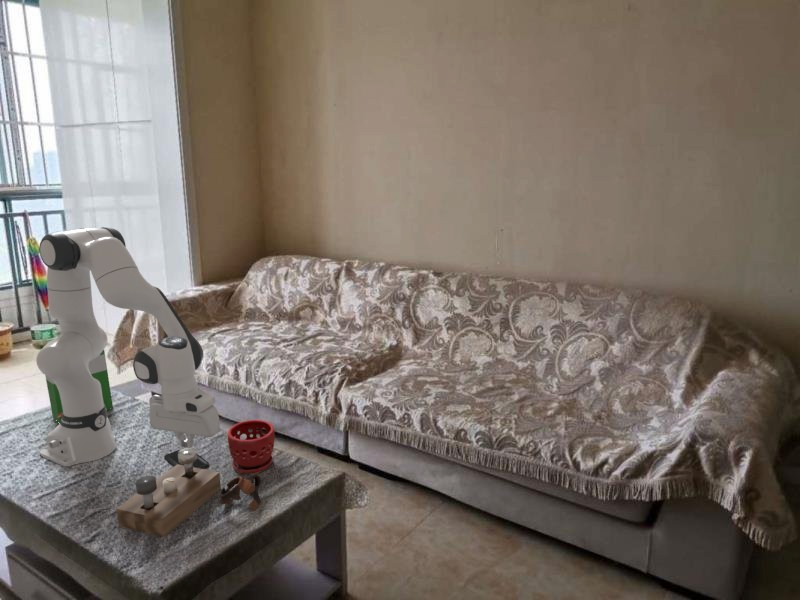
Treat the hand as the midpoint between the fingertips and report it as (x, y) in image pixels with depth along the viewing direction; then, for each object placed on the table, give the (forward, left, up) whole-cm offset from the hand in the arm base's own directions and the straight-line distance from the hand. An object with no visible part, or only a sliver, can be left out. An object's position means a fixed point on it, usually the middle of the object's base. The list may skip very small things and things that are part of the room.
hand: (187, 446), depth 154 cm
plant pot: (+9, +16, -14) cm, 23 cm away
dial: (0, -8, -8) cm, 11 cm away
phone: (-12, +12, -14) cm, 22 cm away
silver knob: (0, 0, -8) cm, 8 cm away
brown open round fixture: (+17, 0, -14) cm, 22 cm away
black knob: (0, -15, -8) cm, 17 cm away
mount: (0, -8, -13) cm, 15 cm away
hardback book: (-71, +29, -14) cm, 78 cm away
